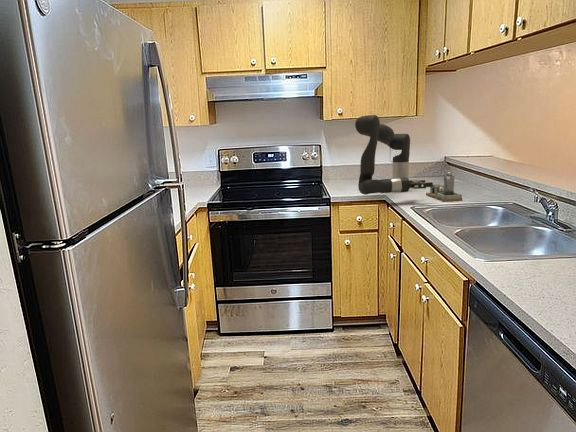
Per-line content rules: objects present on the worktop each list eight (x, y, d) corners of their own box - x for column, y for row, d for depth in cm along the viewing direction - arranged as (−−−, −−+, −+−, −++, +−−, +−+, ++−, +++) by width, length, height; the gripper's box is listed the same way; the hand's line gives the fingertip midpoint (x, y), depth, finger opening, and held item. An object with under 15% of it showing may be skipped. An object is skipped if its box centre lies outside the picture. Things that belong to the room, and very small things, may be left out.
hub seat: (436, 196, 236) (436, 193, 235) (452, 195, 237) (453, 191, 236) (444, 199, 227) (444, 195, 227) (461, 198, 228) (461, 194, 228)
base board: (425, 195, 248) (425, 192, 247) (443, 193, 249) (443, 191, 248) (443, 201, 227) (443, 199, 227) (462, 200, 228) (462, 198, 228)
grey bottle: (441, 196, 234) (442, 172, 231) (450, 196, 235) (451, 171, 232) (446, 198, 229) (447, 173, 226) (455, 197, 230) (456, 172, 227)
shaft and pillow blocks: (430, 192, 248) (430, 183, 247) (438, 191, 248) (438, 183, 247) (437, 195, 239) (437, 186, 238) (446, 194, 240) (446, 185, 239)
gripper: (403, 179, 219) (435, 177, 221) (393, 176, 233) (422, 174, 235) (403, 194, 221) (434, 192, 223) (393, 190, 235) (422, 188, 237)
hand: (428, 183), depth 229 cm, fingers open, 8 cm apart
